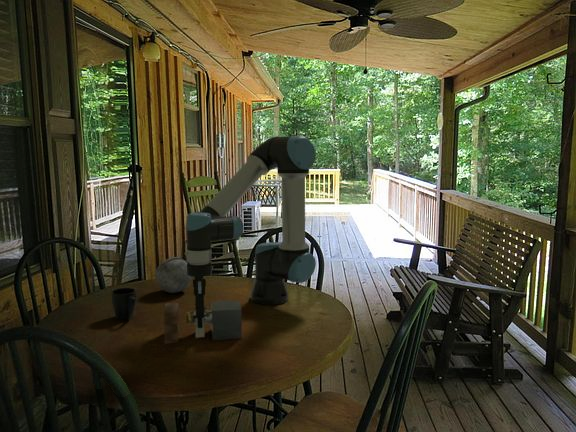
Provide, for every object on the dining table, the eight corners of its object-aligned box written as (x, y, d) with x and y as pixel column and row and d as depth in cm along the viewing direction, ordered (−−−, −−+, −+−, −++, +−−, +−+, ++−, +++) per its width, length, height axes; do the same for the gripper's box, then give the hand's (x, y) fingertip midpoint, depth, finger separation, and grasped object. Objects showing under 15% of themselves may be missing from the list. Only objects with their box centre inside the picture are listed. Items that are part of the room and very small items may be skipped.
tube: (230, 320, 147) (230, 306, 146) (231, 325, 142) (231, 310, 141) (187, 322, 144) (186, 308, 143) (186, 328, 139) (186, 313, 138)
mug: (121, 326, 149) (120, 298, 148) (108, 316, 158) (107, 290, 157) (144, 320, 155) (144, 294, 153) (131, 311, 164) (130, 286, 162)
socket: (178, 331, 146) (178, 302, 144) (178, 342, 137) (177, 312, 136) (166, 332, 145) (165, 303, 143) (164, 343, 136) (163, 313, 135)
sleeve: (238, 327, 150) (238, 300, 148) (241, 338, 141) (241, 309, 140) (211, 329, 148) (211, 301, 146) (212, 340, 139) (212, 310, 138)
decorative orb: (181, 285, 198) (181, 252, 196) (198, 292, 187) (198, 257, 185) (150, 291, 188) (149, 256, 186) (166, 300, 177) (165, 263, 175)
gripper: (186, 256, 147) (187, 324, 150) (186, 269, 130) (187, 345, 133) (209, 255, 149) (210, 322, 152) (212, 268, 132) (213, 343, 135)
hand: (199, 333), depth 142 cm, fingers closed on tube, 5 cm apart
